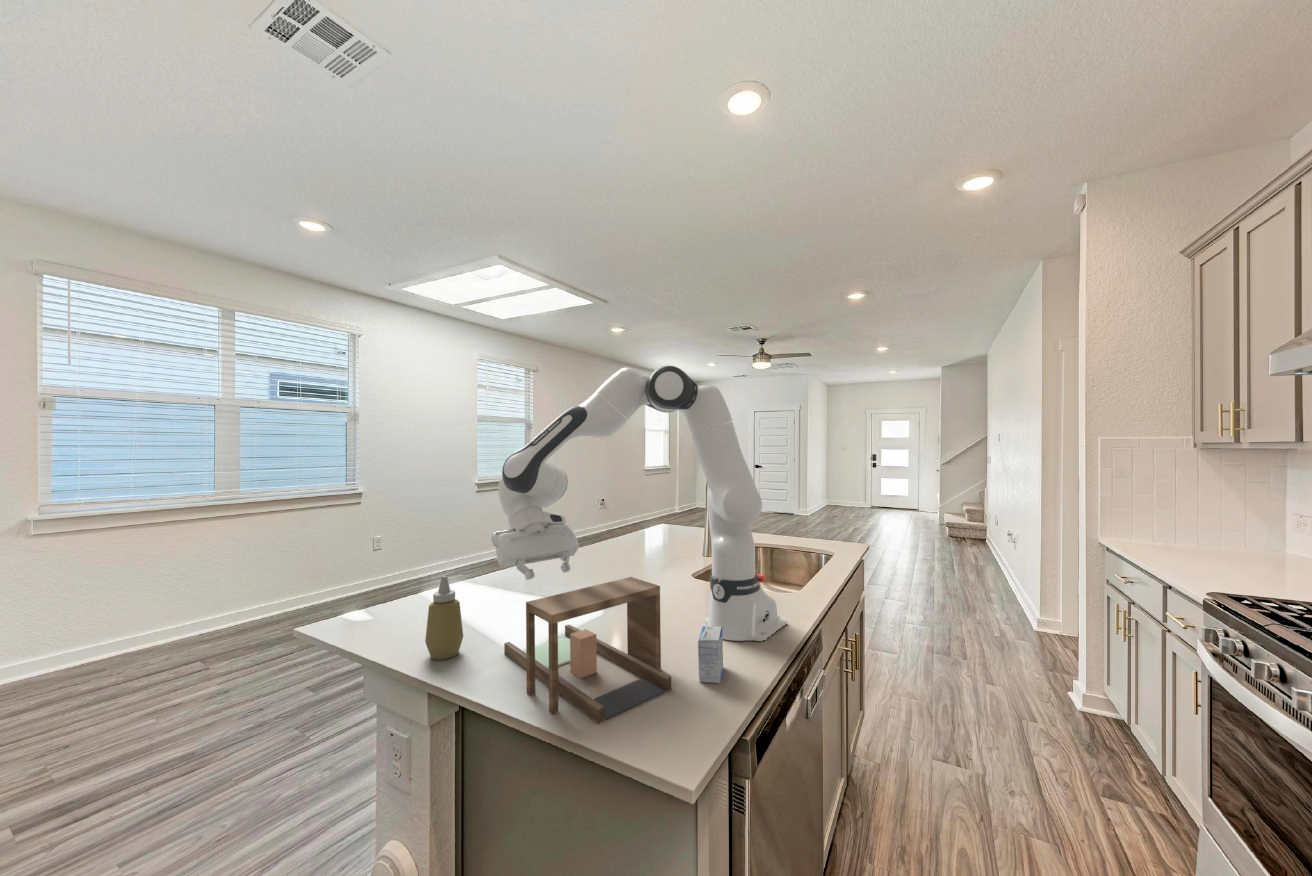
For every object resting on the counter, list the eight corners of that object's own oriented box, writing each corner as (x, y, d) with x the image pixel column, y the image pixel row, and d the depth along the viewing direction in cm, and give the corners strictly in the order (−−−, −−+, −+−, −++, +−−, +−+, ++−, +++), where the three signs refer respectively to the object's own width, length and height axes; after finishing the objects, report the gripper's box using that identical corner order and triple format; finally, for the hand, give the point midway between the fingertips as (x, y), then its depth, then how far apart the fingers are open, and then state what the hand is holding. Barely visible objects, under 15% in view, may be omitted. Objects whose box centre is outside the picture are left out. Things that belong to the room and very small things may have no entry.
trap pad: (642, 679, 99) (642, 678, 99) (665, 692, 94) (665, 690, 94) (584, 704, 90) (584, 702, 90) (606, 720, 84) (606, 718, 84)
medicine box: (720, 684, 97) (720, 640, 97) (698, 682, 97) (697, 639, 98) (723, 666, 104) (722, 626, 104) (702, 665, 105) (702, 625, 105)
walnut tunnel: (583, 629, 126) (583, 561, 126) (687, 682, 98) (686, 594, 98) (485, 659, 109) (485, 581, 109) (576, 734, 80) (575, 627, 81)
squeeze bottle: (471, 651, 114) (470, 574, 114) (442, 665, 106) (442, 583, 107) (446, 645, 117) (445, 570, 117) (417, 659, 110) (416, 579, 110)
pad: (566, 638, 120) (566, 637, 120) (593, 654, 111) (593, 652, 111) (516, 654, 112) (516, 652, 112) (542, 672, 103) (542, 670, 103)
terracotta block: (586, 666, 105) (585, 629, 105) (596, 672, 102) (596, 634, 102) (570, 671, 103) (570, 633, 103) (580, 678, 100) (580, 639, 100)
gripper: (493, 524, 113) (511, 574, 105) (569, 515, 126) (590, 559, 119) (485, 540, 116) (502, 590, 108) (561, 530, 129) (580, 574, 122)
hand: (549, 574), depth 114 cm, fingers open, 8 cm apart
